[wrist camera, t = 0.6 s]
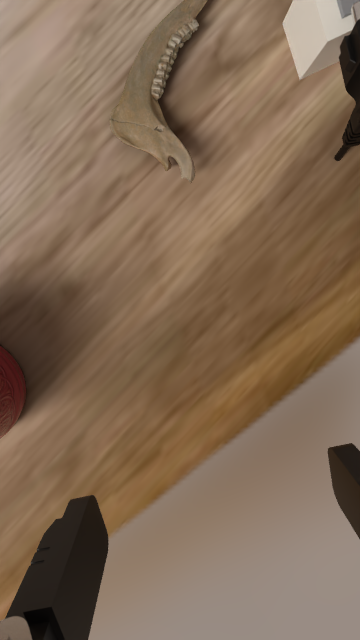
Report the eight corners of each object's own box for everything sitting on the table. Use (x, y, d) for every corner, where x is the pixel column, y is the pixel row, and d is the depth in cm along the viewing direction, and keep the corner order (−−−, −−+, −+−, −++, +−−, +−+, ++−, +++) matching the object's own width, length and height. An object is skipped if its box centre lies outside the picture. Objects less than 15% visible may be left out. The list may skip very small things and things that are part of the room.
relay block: (282, 24, 31) (308, -34, 24) (354, -12, 30) (400, -80, 24) (299, 80, 32) (329, 38, 25) (370, 46, 31) (418, -5, 25)
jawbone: (107, 170, 33) (100, 164, 31) (140, -71, 29) (135, -96, 27) (194, 185, 33) (193, 181, 31) (241, -60, 29) (242, -84, 27)
